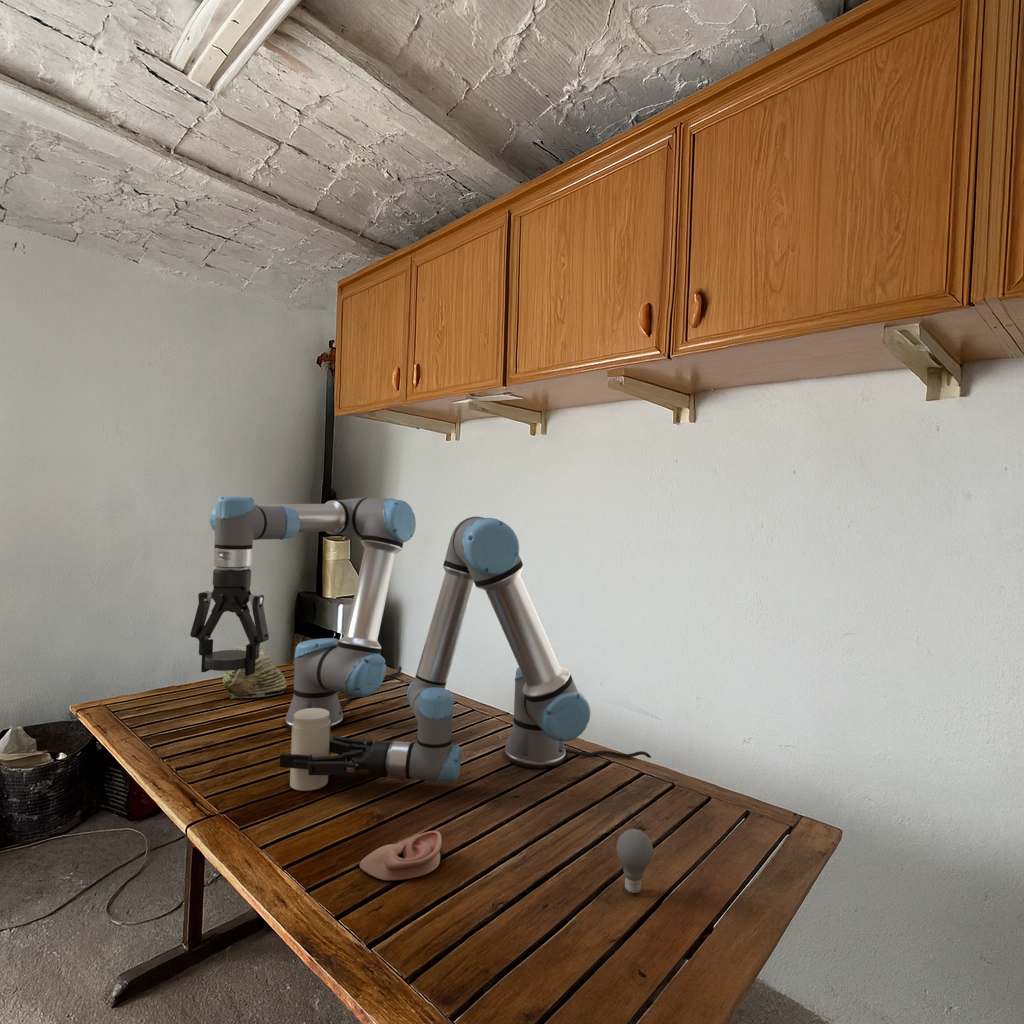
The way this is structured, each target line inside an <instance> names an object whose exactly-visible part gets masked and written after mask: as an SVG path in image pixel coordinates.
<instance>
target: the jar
mask: <svg viewBox="0 0 1024 1024" xmlns="http://www.w3.org/2000/svg"><path fill="white" fill-rule="evenodd" d="M329 716H330V713H329V711H328V710H325V709H321V708H308V709H302V710H299V711H297V712H295V713H294V715H293V719H294V721H293V722H292V729H291V734H290V735H291V737H290V754H296V755H311V754H312V758H315V757H326V756H330V753H329V749H330V739H331V729H330V723H331V721H330V719H329ZM328 783H329V775H308V769H296V768H289V787H290V788H292V789H293V790H296V791H301V792H306V791H307V792H308V791H315V790H318V789H321V788H323V787H325V786H326V785H327V784H328Z"/></svg>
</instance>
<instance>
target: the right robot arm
mask: <svg viewBox="0 0 1024 1024" xmlns="http://www.w3.org/2000/svg"><path fill="white" fill-rule="evenodd" d="M442 568H443V570H444V572H445V573H444V577H443V580H442V584H441V587H440V590H439V594H438V597H437V600H436V605H435V608H434V611H433V613H432V618H431V621H430V625H429V628H428V632H427V636H426V639H425V642H424V645H423V649H422V654H421V657H420V660H419V663H418V667H417V669H416V674H415V676H414V680H413V681H412V682H411V683H410V684H409V686H408V688H407V689H406V697H407V698H406V699H407V703H408V705H409V707H410V709H411V710H412V712H413V714H414V716H415V719H416V721H417V739H416V742H412V741H411V742H410V741H397V740H395V741H393V742H392V741H390V740H379V739H378V740H375V741H373V740H371V739H369V740H368V739H358V738H352V737H351V738H350V737H345V736H337V735H334V736H332V738H330V749H329V754H331V753H332V754H334V755H329V756H326V757H315V758H312V754H311V755H296V754H291V753H280V754H279V768H285V769H290V768H296V769H308V775H328V776H348V777H355V776H357V775H356V774H357V771H361V770H367V772H368V774H369V776H370V777H372V778H381V779H382V778H383V779H385V778H388V777H389V778H390V779H399V780H400V781H404V780H413V781H425V782H426V781H427V782H434V783H454V782H456V781H458V778H459V777H460V773H461V766H462V765H461V764H462V749H461V747H460V746H459V745H455V744H453V720H454V710H455V705H454V694H453V692H452V691H451V690H449V689H447V688H446V686H447V681H448V678H449V675H450V672H451V667H452V665H453V661H454V657H455V654H456V651H457V648H458V644H459V640H460V637H461V633H462V630H463V627H464V624H465V619H466V618H467V617H466V616H467V613H468V609H469V606H470V602H471V599H472V596H473V592H474V589H475V587H476V588H478V589H480V590H483V591H484V592H485V593H486V595H487V598H488V601H489V602H490V605H491V608H492V609H493V611H494V614H495V615H496V618H497V620H498V622H499V625H500V627H501V630H502V632H503V634H504V636H505V638H506V641H507V643H508V646H509V647H510V650H511V652H512V654H513V656H514V658H515V661H516V663H517V666H518V667H517V668H516V670H515V677H514V700H513V701H514V703H513V706H514V707H513V725H512V727H511V729H510V733H509V735H508V737H507V741H506V743H505V747H504V757H505V758H506V759H507V760H508V762H510V763H512V764H514V765H516V766H520V767H524V768H527V769H549V768H554V767H558V766H560V765H561V764H563V763H564V762H565V760H566V754H573V755H577V756H581V757H592V756H597V755H611V756H615V757H620V758H633V757H637V756H645V757H647V759H651V758H652V756H651V754H649V753H648V752H646V751H644V750H643V751H642V750H641V751H636V752H632V753H623V752H617V751H611V750H595V751H590V752H584V751H578V750H575V749H567V748H566V747H565V743H566V742H570V741H573V740H575V739H577V738H579V736H581V735H582V734H583V732H584V731H585V730H586V729H587V727H588V724H589V723H590V719H591V706H590V703H589V701H588V699H587V698H586V697H585V696H584V695H583V694H582V693H580V692H579V690H578V688H577V686H576V684H575V681H574V679H573V677H572V674H571V673H570V671H569V669H568V668H566V667H563V666H561V665H560V663H559V661H558V659H557V657H556V653H555V652H554V649H553V647H552V645H551V643H550V641H549V638H548V636H547V633H546V631H545V629H544V626H543V624H542V621H541V620H540V617H539V614H538V613H537V610H536V608H535V605H534V603H533V602H532V599H531V596H530V594H529V592H528V589H527V587H526V584H525V582H524V580H523V578H522V576H521V574H522V571H523V569H524V563H523V560H522V558H521V556H520V541H519V539H518V536H517V534H516V532H515V531H514V530H513V528H511V526H510V525H508V524H507V523H505V521H502V520H500V519H497V518H494V517H484V516H470V517H467V518H464V519H462V521H459V523H458V524H457V525H456V526H455V527H454V529H453V531H452V533H451V535H450V538H449V542H448V546H447V550H446V554H445V557H444V560H443V565H442ZM616 752H617V753H616Z"/></svg>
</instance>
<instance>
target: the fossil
mask: <svg viewBox="0 0 1024 1024" xmlns="http://www.w3.org/2000/svg"><path fill="white" fill-rule="evenodd" d="M235 650H244V651H246V646H238V647H237V648H236V649H235ZM222 676H223V677H222V685H223V687H224V688H225V690H226V691H228V693H229V698H230V699H250V698H264V697H271V696H275V695H281V694H284V693H285V691H286V689H287V687H288V686H287V680H286V678H285V676H284V674H283V673H282V672H281V669H279V668H278V667H277V665H276V663H275V662H274V660H273V659H272V658H271V657H270V656H269V655H268V654H267V653H266V652H265V650H264V649H263V648H261V647H260V649H259V658H258V659H255V673H253V674H251V675H249V676H245V668H243V669H239V670H231V671H223V675H222Z"/></svg>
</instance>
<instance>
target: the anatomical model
mask: <svg viewBox="0 0 1024 1024" xmlns="http://www.w3.org/2000/svg"><path fill="white" fill-rule="evenodd" d="M442 843H443V838H442V834H441V833H440V831H438V830H429V831H426V832H422V833H418V834H416V835H414V836H411V837H410V838H407V839H404V840H403V841H400V842H397V843H390V844H386V845H382V846H380V847H378V848H375V850H373V851H371V852H370V853H369V854H367V855H366V856H364V857H363V859H362V860H361V861H360V863H359V868H360V869H361V870H362V871H363V872H365V873H367V874H368V875H370V876H372V877H374V878H376V879H378V880H381V881H389V882H390V881H401V880H409V879H413V878H418V877H421V876H424V875H427V874H430V873H431V872H433V871H435V870H436V869H437V868H438V867H439V866H440V863H441V862H440V861H441V853H440V851H441V848H442Z"/></svg>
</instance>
